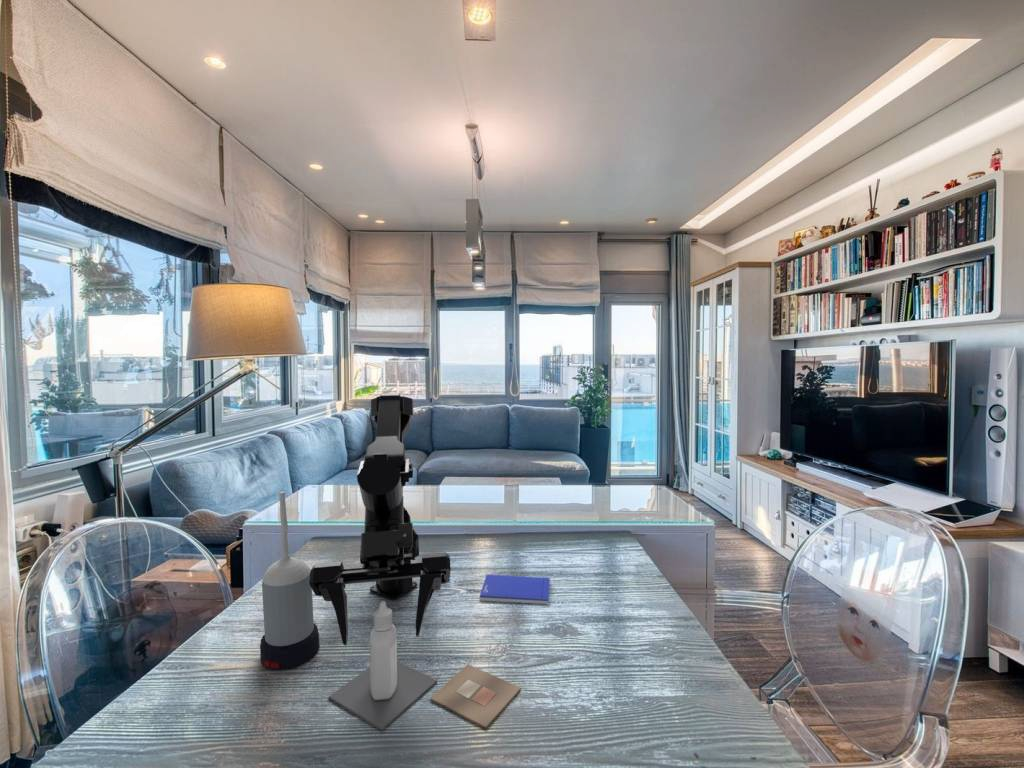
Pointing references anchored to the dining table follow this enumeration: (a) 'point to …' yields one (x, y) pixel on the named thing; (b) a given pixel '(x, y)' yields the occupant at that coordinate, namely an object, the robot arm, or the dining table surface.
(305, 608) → the humidifier
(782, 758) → the dining table surface
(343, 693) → the mat
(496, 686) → the board
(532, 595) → the hard drive
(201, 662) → the dining table surface
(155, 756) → the dining table surface
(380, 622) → the eye dropper bottle
